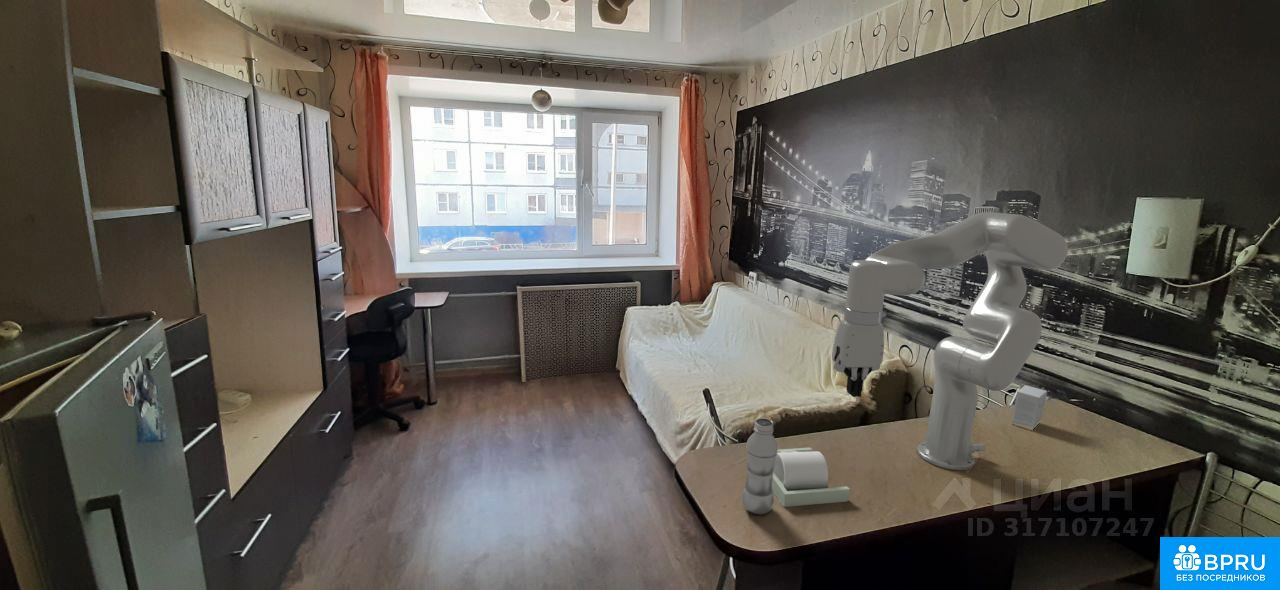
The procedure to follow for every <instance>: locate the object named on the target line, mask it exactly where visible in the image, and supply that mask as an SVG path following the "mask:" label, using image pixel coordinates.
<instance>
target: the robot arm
mask: <svg viewBox="0 0 1280 590" xmlns="http://www.w3.org/2000/svg"><path fill="white" fill-rule="evenodd" d="M1068 252H1069V246H1068V243H1067V240H1066V239H1065V238H1064V236H1062V235H1061V234H1060V233H1058V232H1057V231H1055V230H1053V229H1051V228H1050V227H1048V226H1047V225H1044V224H1042V223H1040V222H1039V221H1036V220H1035V219H1034V218H1032V217H1031V218H1030V217H1028V216H1026V215H1022V214H1017V213H1005V212H992V211H991V212H990V211H986V212H978V213H975V214H973V215H971V216H968V217H966V218H965V219H962V220H960V221H958V222H957V223H955V224H953V225H951V226H948V227H946V228H945V229H942V230H940V231H938V232H937V233H933V234H929V235H925V236H920V237H916V238H912V239H907V240H904V241H900V242H895V243H892V244H889V245H887V246H885V247H883V248H882V249H880V250H877V251H876V252H874V253H872V254H870V255H869V256H868V257H866V258H865V259H860V260H859V259H858V260H854V261H852V262H851V264H850V266H849V269H848V270H849V271H848V279H847V280H848V281H847V288H846V289H847V291H846V299H845V307H844V308H845V309H844V319H843V320H840V321H839V324H838V327H837V328H836V332H835V337H834V340H833V341H834V342H833V347H832V354H831V359H832V361H833V362H834V365H833V370H835V371H836V372H839V373H841V374H842V373H844V375H845V376H846V377H847V379H846V380H847V381H846V392H847V393H848V394H849V395H850V396H851V397H853V398H857V397H858V398H860V397H861V398H862V392H863V389H864V381H866V380H867V377H868V376H869V374H871V373H872V372H875V371H878V370H880V369H881V364H882V363H883V358H884V351H885V333H884V331H885V330H884V324H883V323H882V319H883V318H885V317H887V312H886V311H885V310H883V308H884V299H885V296H886V295H894V296H910V295H914V294H915V293H918V292H919V291H920V290H921V289H922V288H923V287H924V285H925V282H926V273H925V270H941V269H951V268H955V267H957V266H960V265H962V264H963V263H965V262H967V261H969V260H971V259H973V258H975V257H977V256H978V255H981V254H983V253H984V254H985V257H986V262H987V263H986V264H987V271H988V273H987V278H986V281H985V283H984V285H983V286H982V288H981V290H980V291H979V293H978V295H977V296H976V298H975V299H974V300H973V302H972V304H971V305H970V307H969V308H968V309H967V312H966V313H965V314H964V318H963V320H962V327H963V329H964V331H965V332H966V333H968V334H969V335H971V336H973V337H975V338H978V339H980V340H984V341H986V342H988V343H989V342H990V343H993V344H995V346H994V347H993V346H991V345H990V346H989V345H987V344H985V343H982V342H979V341H976V340H974V339H973V340H972V339H970V338H967V337H963V336H954V335H953V336H948V337H945V338H943V339H942V340H940V341H939V342H938V343H937V345H936V347H935V349H934V354H933V360H934V361H933V362H934V383H933V384H934V386H933V393H932V396H931V397H932V399H931V404H930V411H929V416H928V423H927V429H926V435H925V441H922V442H920V443H918V445H917V448H916V452H917V454H918V456H920V458H922V459H923V460H924V461H926V462H928V463H930V464H932V465H935V466H936V467H939V468H944V469H947V470H953V471H954V470H955V471H965V470H970V469H972V468H973V466H974V464H975V458H974V457H973V456H972V454H974V453H975V452H976V453H977V452H984V451H985V450H986V447H985V445H984V443H974V444H973V441H972V439H971V438H972V433H973V426H974V422H975V417H976V410H977V406H978V400H979V399H978V398H979V394H978V388H977V386H978V387H981V388H982V389H986V390H989V391H994V392H999V391H1002V390H1004V389H1006V388H1008V387H1009V386H1010V385H1011V384H1012V383H1013V381H1014V380H1015V379H1016V377H1017V376H1018V374H1019V373H1020V371H1021V370H1022V368H1023V366H1024V365H1025V363H1026V362H1027V360H1028V359H1029V357H1030V356H1031V354H1032V353H1033V351H1034V350H1035V348H1036V346H1037V345H1038V343H1039V341H1040V338H1041V335H1042V332H1043V325H1042V324H1043V323H1042V320H1041V318H1040V317H1039V316H1038V315H1037V314H1036V313H1035V312H1033V311H1031V310H1028V309H1026V308H1022V307H1020V305H1021V303H1022V302H1023V299H1024V298H1025V296H1026V294H1027V289H1028V286H1027V280H1026V277H1025V274H1024V271H1023V269H1022V268H1026V269H1027V268H1028V269H1034V270H1040V271H1049V270H1050V271H1052V270H1053V269H1057V268H1059V267H1060V265H1062V264H1063V263H1064V262H1065V260H1066V259H1067V256H1068Z"/></svg>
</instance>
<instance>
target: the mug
mask: <svg viewBox="0 0 1280 590" xmlns="http://www.w3.org/2000/svg"><path fill="white" fill-rule="evenodd" d="M773 473H774V474H775V475H776V477H777V478H778V479H779V481H780V482H781V483H782V485H783V486H784V487H785V489H786V490H787V491H794V490H809V489H821V488H826V486H827V485H828V480H829V467H828V464H827V461H826V458H825V456H824V455H823V454H822V452H821V451H814V450H812V452H797V451H792V450H786V451H782V452H780V453H777V456H776V460H775V465H774V471H773Z"/></svg>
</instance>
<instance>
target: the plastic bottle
mask: <svg viewBox="0 0 1280 590" xmlns="http://www.w3.org/2000/svg"><path fill="white" fill-rule="evenodd" d="M753 431H754V432H753V433H752V434H751V435H750V436H749V437H748V439H747V442H746V445H745V446H746V447H745V448H746V459H747V463H746V464H747V465H746V467H747V471H746V478H745V479H746V480H745V485H744V488H743V492H742V504H743V506H744V507H745V510H747V511H748V512H749V513H752V514H754V515H765V514H768V513H769V512H770V511H772V509H773V506H774V502H775V494H774V492H773V471H774V465H775V460H776V456H777V452H778V450H779V445H778V442H777V440H776V438H775V436H774V435H773V432H774V422H773V421H772V420H770V419H769V418H765V417H763V418H757V419H756V420H755V421H754V426H753Z"/></svg>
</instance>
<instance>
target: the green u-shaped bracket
mask: <svg viewBox="0 0 1280 590" xmlns="http://www.w3.org/2000/svg"><path fill="white" fill-rule="evenodd" d="M786 450H792V451H797V452H813V448H812V447H799V448H796V447H795V448H780V449H779V448H778V452H777V453H780V452H782V451H786ZM850 490H851V489H850V487H848V486H846V485H845V486H837V487H824V488H815V489H796V490H786V489H785V487H784V486H783V485H782V483H781V482H780V481H779V479H778V478H777V477H776V475H775V474H774V473H773V493H774V496H776V498H777V499H778V501H779V502H780V503H781V504H782V507H784V508H785V507H787V508H788V507H797V506H809V505H820V504H821V505H822V504H832V503H833V504H835V503H845V502H849V499H850V492H851V491H850Z"/></svg>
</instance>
